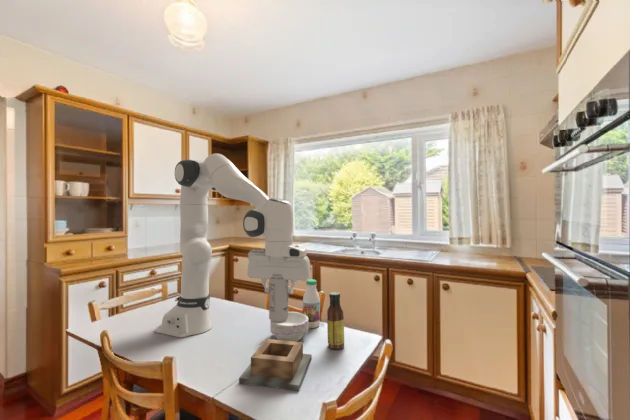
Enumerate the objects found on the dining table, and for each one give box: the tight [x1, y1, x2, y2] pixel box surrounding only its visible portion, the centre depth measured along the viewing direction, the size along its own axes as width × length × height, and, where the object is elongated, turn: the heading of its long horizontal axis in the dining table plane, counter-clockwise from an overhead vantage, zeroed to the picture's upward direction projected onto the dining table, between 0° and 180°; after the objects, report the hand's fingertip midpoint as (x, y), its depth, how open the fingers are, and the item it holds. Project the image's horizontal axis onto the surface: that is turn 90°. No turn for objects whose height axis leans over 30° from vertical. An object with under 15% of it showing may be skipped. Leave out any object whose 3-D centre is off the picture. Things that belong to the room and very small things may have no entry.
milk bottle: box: [301, 278, 321, 329], centre depth 128 cm, size 8×8×20 cm
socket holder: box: [238, 338, 313, 392], centre depth 91 cm, size 18×18×6 cm
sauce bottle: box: [326, 291, 345, 350], centre depth 108 cm, size 6×6×20 cm
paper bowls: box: [269, 311, 309, 342], centre depth 115 cm, size 15×15×8 cm
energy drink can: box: [268, 274, 289, 324], centre depth 91 cm, size 6×6×15 cm
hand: (278, 293), depth 91 cm, fingers closed on energy drink can, 6 cm apart
